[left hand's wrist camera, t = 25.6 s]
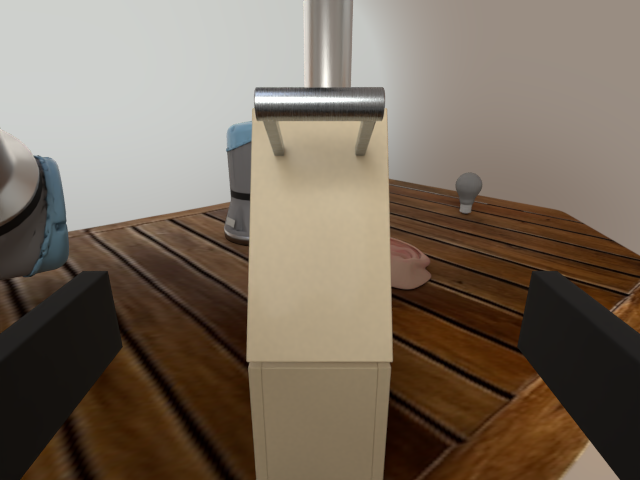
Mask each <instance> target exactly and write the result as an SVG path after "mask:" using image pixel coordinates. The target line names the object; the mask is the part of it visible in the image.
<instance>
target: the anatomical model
mask: <svg viewBox="0 0 640 480" xmlns="http://www.w3.org/2000/svg"><path fill="white" fill-rule="evenodd" d="M390 259H391V287H395V288H400V289H414V288H417V287H419V286H421V285H422V284H424V283H426V282H427V281H428V280H429V279H430V278H431V274H430V273H429V272H428V271H427V270H426V269H425V267H427V266H428V265H429V264H430V259H429V258H428V257H427V256H426V255H425V254H424V253H422V252H421V251H420V250H419V249H417V248H416V247H414V246H412V245H410V244H408V243H406V242H403V241H401V240H398V239H395V238H391V237H390Z"/></svg>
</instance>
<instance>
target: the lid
mask: <svg viewBox="0 0 640 480" xmlns="http://www.w3.org/2000/svg"><path fill="white" fill-rule="evenodd" d="M246 361H247V362H393V346H392V302H391V259H390V215H389V171H388V129H387V109H386V108H385V91H384V88H383V87H256V88H255V92H254V108H253V109H252V146H251V189H250V232H249V274H248V317H247V360H246Z"/></svg>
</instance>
